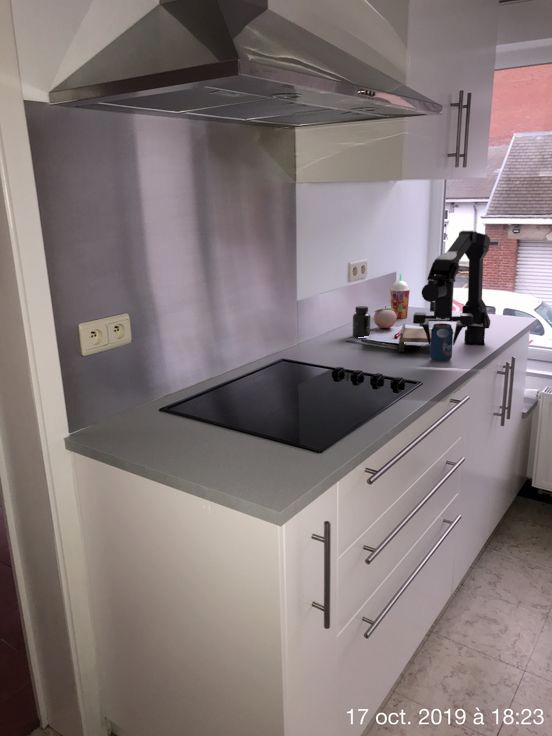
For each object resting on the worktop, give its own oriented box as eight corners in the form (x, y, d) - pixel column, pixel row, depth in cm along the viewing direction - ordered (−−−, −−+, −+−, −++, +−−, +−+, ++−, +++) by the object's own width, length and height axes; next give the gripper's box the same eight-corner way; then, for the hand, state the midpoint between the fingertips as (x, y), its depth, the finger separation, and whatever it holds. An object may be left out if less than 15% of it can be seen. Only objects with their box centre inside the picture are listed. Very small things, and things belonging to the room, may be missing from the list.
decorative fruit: (381, 333, 247) (381, 308, 244) (370, 329, 254) (370, 305, 252) (401, 330, 251) (401, 306, 248) (389, 327, 258) (390, 303, 255)
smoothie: (406, 317, 276) (407, 272, 271) (411, 321, 268) (412, 275, 263) (387, 318, 276) (388, 273, 270) (392, 322, 268) (393, 275, 262)
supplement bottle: (371, 339, 238) (371, 308, 235) (353, 339, 239) (353, 308, 235) (369, 335, 245) (369, 305, 242) (351, 335, 245) (351, 305, 242)
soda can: (447, 364, 202) (449, 328, 198) (427, 361, 205) (428, 326, 202) (454, 359, 207) (456, 324, 204) (434, 356, 211) (435, 322, 208)
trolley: (436, 343, 229) (437, 324, 228) (435, 354, 214) (436, 334, 212) (401, 341, 233) (402, 323, 231) (398, 353, 217) (399, 333, 215)
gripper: (472, 293, 206) (470, 339, 210) (415, 293, 210) (413, 337, 215) (474, 299, 195) (471, 347, 200) (413, 298, 200) (412, 345, 204)
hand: (441, 344), depth 205 cm, fingers open, 7 cm apart
